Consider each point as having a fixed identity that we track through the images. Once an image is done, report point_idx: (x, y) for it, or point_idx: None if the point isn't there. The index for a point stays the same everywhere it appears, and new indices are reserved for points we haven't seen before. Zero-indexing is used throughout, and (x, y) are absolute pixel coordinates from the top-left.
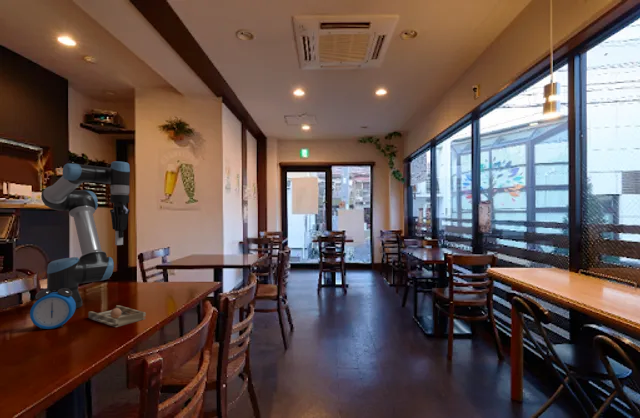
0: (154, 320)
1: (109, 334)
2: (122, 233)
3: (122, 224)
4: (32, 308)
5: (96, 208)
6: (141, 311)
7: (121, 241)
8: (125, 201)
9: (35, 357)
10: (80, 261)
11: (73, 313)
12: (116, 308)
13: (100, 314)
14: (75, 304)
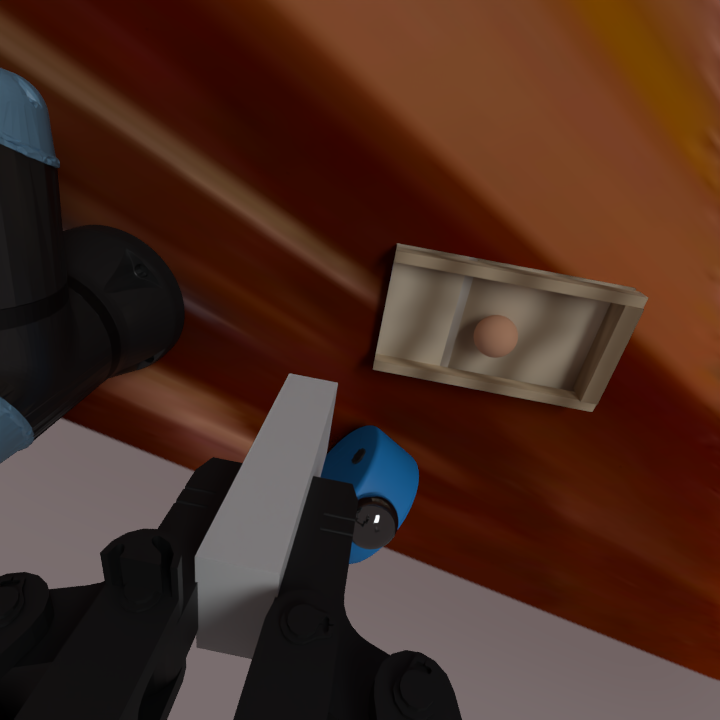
0: (692, 288)
1: (619, 446)
2: (348, 565)
3: None
4: None
5: None
6: (614, 293)
7: (325, 432)
8: None
9: (558, 578)
10: None
11: (388, 437)
12: (502, 345)
13: (461, 381)
14: (383, 450)
